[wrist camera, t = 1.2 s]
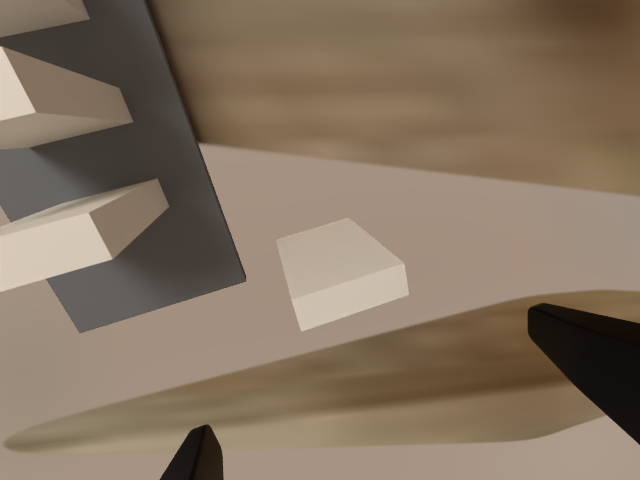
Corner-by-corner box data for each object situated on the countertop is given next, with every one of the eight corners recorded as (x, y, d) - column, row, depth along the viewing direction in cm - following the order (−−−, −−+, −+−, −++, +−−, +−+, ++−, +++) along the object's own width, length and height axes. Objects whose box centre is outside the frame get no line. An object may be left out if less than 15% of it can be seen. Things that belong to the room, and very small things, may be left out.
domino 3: (275, 239, 20) (291, 299, 13) (348, 217, 21) (404, 263, 14) (282, 261, 21) (301, 331, 14) (353, 239, 22) (409, 294, 14)
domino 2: (59, 204, 17) (-94, 261, 9) (157, 178, 17) (88, 212, 10) (75, 232, 17) (-58, 308, 10) (169, 206, 18) (112, 259, 10)
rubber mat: (19, -349, 12) (3, -382, 11) (246, 276, 21) (246, 281, 20) (-309, -326, 10) (-351, -361, 10) (86, 325, 20) (79, 333, 19)
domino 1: (9, 112, 15) (-226, 93, 8) (119, 87, 16) (1, 46, 8) (28, 147, 16) (-173, 160, 8) (133, 122, 16) (36, 112, 9)
